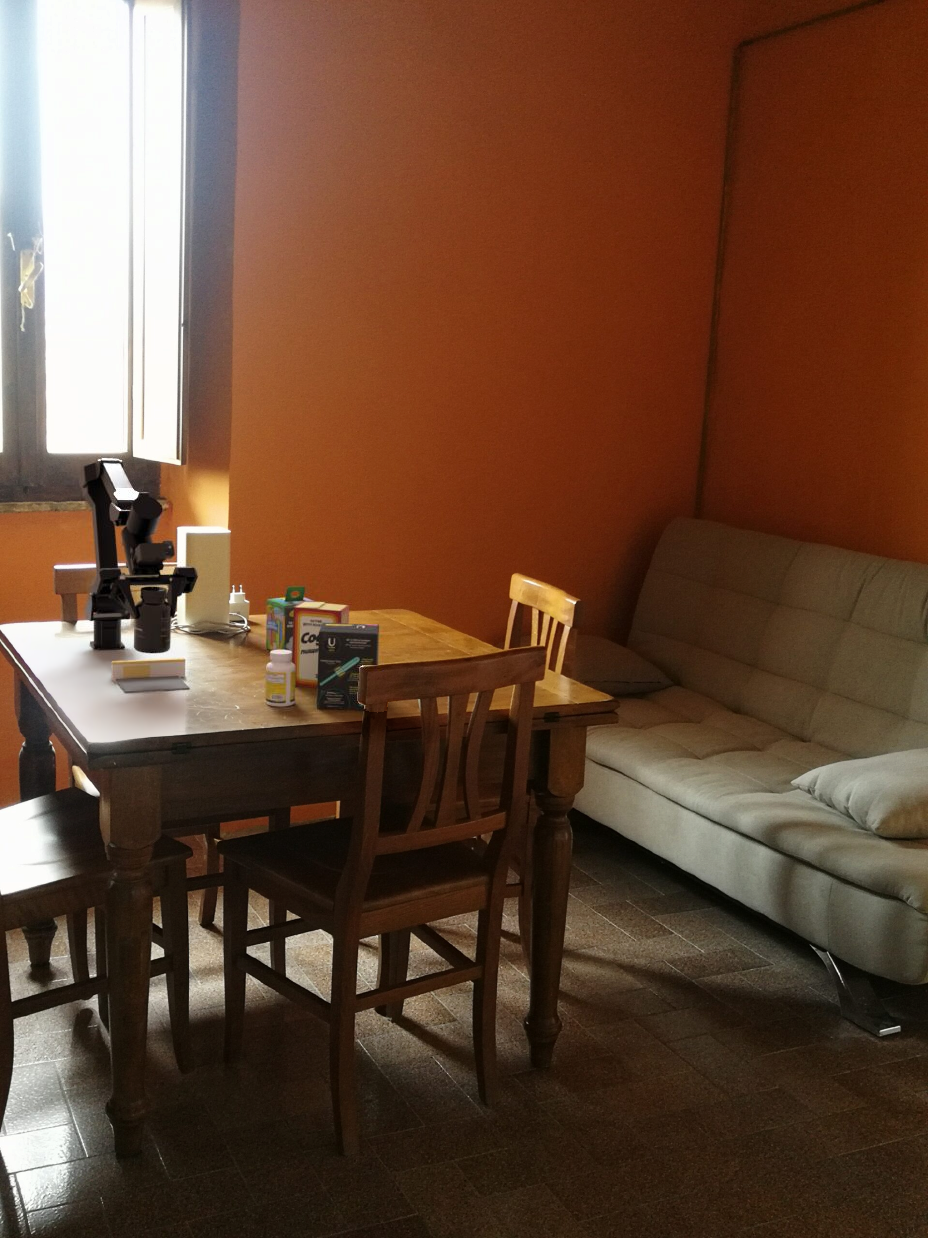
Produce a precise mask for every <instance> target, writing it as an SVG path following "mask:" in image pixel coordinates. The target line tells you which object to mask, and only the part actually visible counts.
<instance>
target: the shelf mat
mask: <svg viewBox="0 0 928 1238" xmlns="http://www.w3.org/2000/svg"><path fill="white" fill-rule="evenodd" d="M115 682H116V683H117V684H118V685H119V687H120V689H121V690H122V691H123V693H125V694H127V693H129V694H130V693H147V692H163V691H165V692H166V691H167V692H168V691H182V690H183V691H185V690H186V691H187V690H190V686H189V685H188V684H186V682H185V681H184V680H183V679H182V678H181V677H179V676H164V677H145V678H125V679H116V680H115Z"/></svg>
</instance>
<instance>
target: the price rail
mask: <svg viewBox="0 0 928 1238" xmlns="http://www.w3.org/2000/svg"><path fill="white" fill-rule="evenodd" d="M164 676H179V677H180V678H181V677H186V658H185V657H176V658H175V657H174V658H157V659H155V658H153V659H152V658H151V659H150V658H149V659H131V660H130V659H129V660H112V661H111V680H112V681H116V679H125V678H145V677H164Z"/></svg>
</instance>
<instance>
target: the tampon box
mask: <svg viewBox="0 0 928 1238" xmlns="http://www.w3.org/2000/svg"><path fill="white" fill-rule="evenodd" d="M379 641H380V624H371V623H370V624H368V623H348V624H344V623H322V625H321V628H320V631H319V646H318V677H317V688H316V709H318V710H320V709H321V710H348V711H349V710H352V711H353V710H354V711H365V710H364V705H361V704H359V703H358V701H357V692H358V681H359V667H360V666H362V665H378V666H379V646H380V645H379V644H380V643H379Z"/></svg>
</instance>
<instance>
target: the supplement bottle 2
mask: <svg viewBox="0 0 928 1238" xmlns="http://www.w3.org/2000/svg"><path fill="white" fill-rule="evenodd" d="M269 660H271V661H270V662H268V663H267V664H266V666H265V667H266V668H265V703H266V704H267V705H268V706H271V707H276V708H277V707H278V708H279V707H282V708H283V707H289V706H292V705H294V704H295V703H296V686H295V678H296V667H295V665H294V664H293V663H292V651H289V650H270V652H269Z"/></svg>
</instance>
